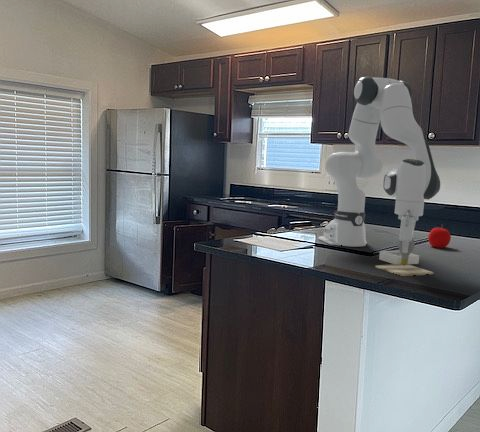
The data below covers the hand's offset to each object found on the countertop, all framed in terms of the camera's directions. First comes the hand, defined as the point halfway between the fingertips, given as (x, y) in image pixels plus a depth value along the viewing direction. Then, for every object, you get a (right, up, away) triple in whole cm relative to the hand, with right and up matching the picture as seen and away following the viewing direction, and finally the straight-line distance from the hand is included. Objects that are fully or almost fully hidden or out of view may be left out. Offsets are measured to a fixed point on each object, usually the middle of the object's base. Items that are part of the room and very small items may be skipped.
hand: (405, 250), depth 159 cm
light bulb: (0, -5, +1) cm, 5 cm away
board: (0, -7, +1) cm, 7 cm away
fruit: (+31, -2, +49) cm, 58 cm away
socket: (+3, -5, +15) cm, 16 cm away
